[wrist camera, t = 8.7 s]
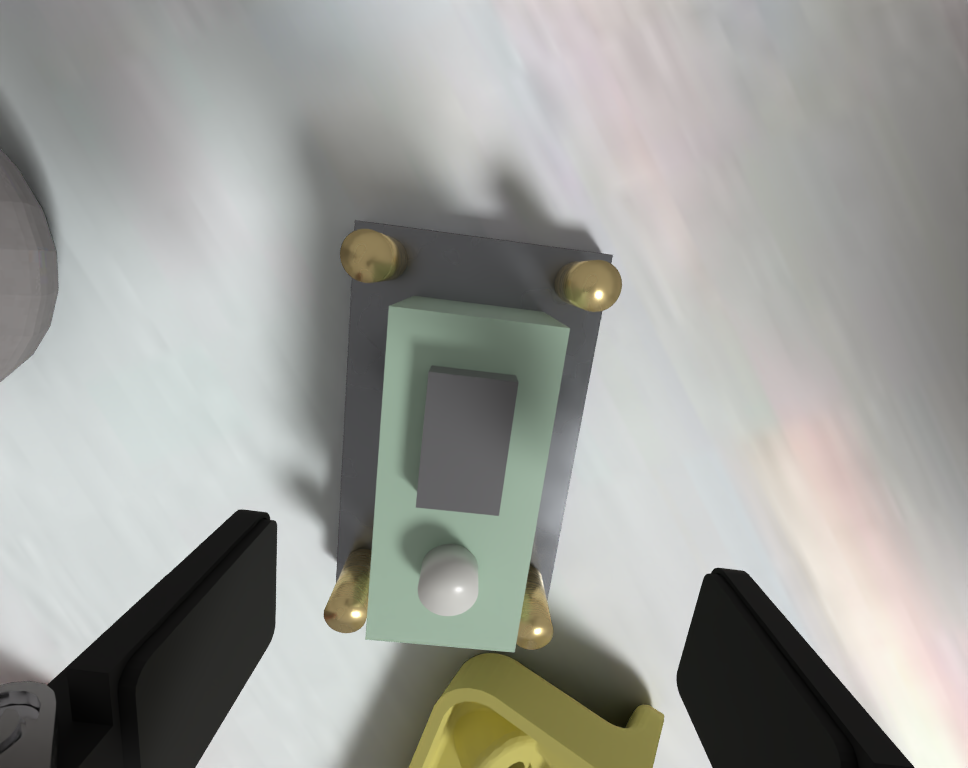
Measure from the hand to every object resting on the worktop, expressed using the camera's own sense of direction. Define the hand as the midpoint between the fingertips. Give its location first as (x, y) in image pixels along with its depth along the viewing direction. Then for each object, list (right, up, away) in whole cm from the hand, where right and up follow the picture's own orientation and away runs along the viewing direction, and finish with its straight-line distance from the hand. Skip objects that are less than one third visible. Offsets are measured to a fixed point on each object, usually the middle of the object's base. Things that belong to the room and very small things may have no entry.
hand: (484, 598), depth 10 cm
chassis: (-1, +3, +10) cm, 10 cm away
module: (-1, +2, +9) cm, 9 cm away
